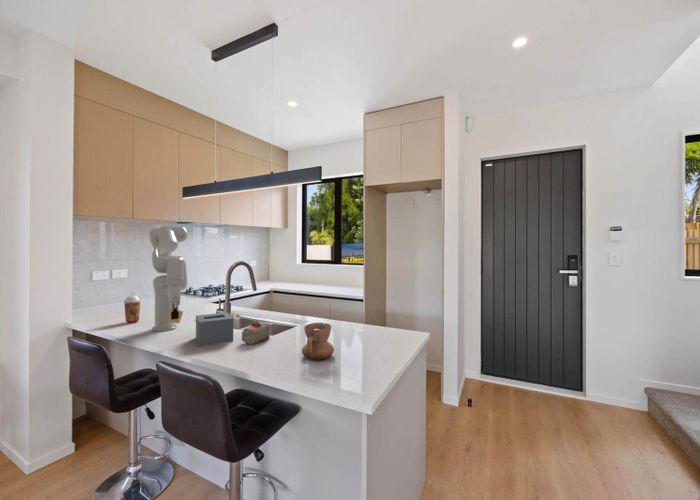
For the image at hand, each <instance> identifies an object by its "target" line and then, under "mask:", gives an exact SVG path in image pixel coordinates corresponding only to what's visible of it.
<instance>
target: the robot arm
mask: <svg viewBox="0 0 700 500" xmlns="http://www.w3.org/2000/svg"><path fill="white" fill-rule="evenodd" d="M186 240H188V231H187V229H186V227H184V226H181V225H162V226H160V227H155V228H152V229H150V230H149V241H150V243H151V246H152V247H153V251H152V254H151V262H152V267H153V269H154V270H155V271H156V273H158V274H162V275H158V276H155V277H154V278H153V281H152V286H153V291H154V326H152V328H151V331H153V332H167V331H172V330H174V329H177V327H178V325H177V323H172V322H166V318H167V315H168V312H169V309H172V311H171V319H178V318H179V311H178V310H179V306H180V305H181V299H182V298H181V296H182V293H181V292H182V291H183V290H184V291H185V290H186V289H187V287H188V273H187V262H186V259H185V258H184V257H183V256H181V255H172V252H174V251H176V250H177V249H178V246H179V243H183V242H185V241H186ZM163 274H165V275H163Z"/></svg>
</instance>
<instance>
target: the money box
mask: <svg viewBox="0 0 700 500" xmlns="http://www.w3.org/2000/svg"><path fill="white" fill-rule="evenodd" d="M195 339H196V341H197V344H198V347H204V346H210V345H217V344H218V345H219V344H223V343H231V342H234V317H233V316H232V315H231V314H230V313H229V312H218V313H216V312H215V313H209V314H198V315H195Z"/></svg>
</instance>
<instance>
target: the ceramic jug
mask: <svg viewBox="0 0 700 500" xmlns="http://www.w3.org/2000/svg"><path fill="white" fill-rule="evenodd" d="M303 329H304V334H305V336H306V339H307V340H306V343H305V344H304V345H303V346H302V349H301V354H302V355H303V356H304V358H305V357H306V358H307V359H310V360H314V361H315V360H316V361H317V360H318V361H319V360H325V359H327V358H330V357H331V356H332V355H333V354H334V351H335V349H334V348H335V347H334V346H333V344H332V343H331V342H329V341H328V340H329V338H330V336H331V331H332V325H331V324H329V323H327V322H313V323H312V322H311V323H307V324H306V325H304V327H303Z"/></svg>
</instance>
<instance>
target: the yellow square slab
mask: <svg viewBox="0 0 700 500" xmlns="http://www.w3.org/2000/svg"><path fill="white" fill-rule="evenodd" d="M171 311H172V309H169V312H168V315H167V318H166V322H172V323H174V324H180V322H181V320H182V316H183V313H184V310H180V309H178V311H179V318H178V319H171Z"/></svg>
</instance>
